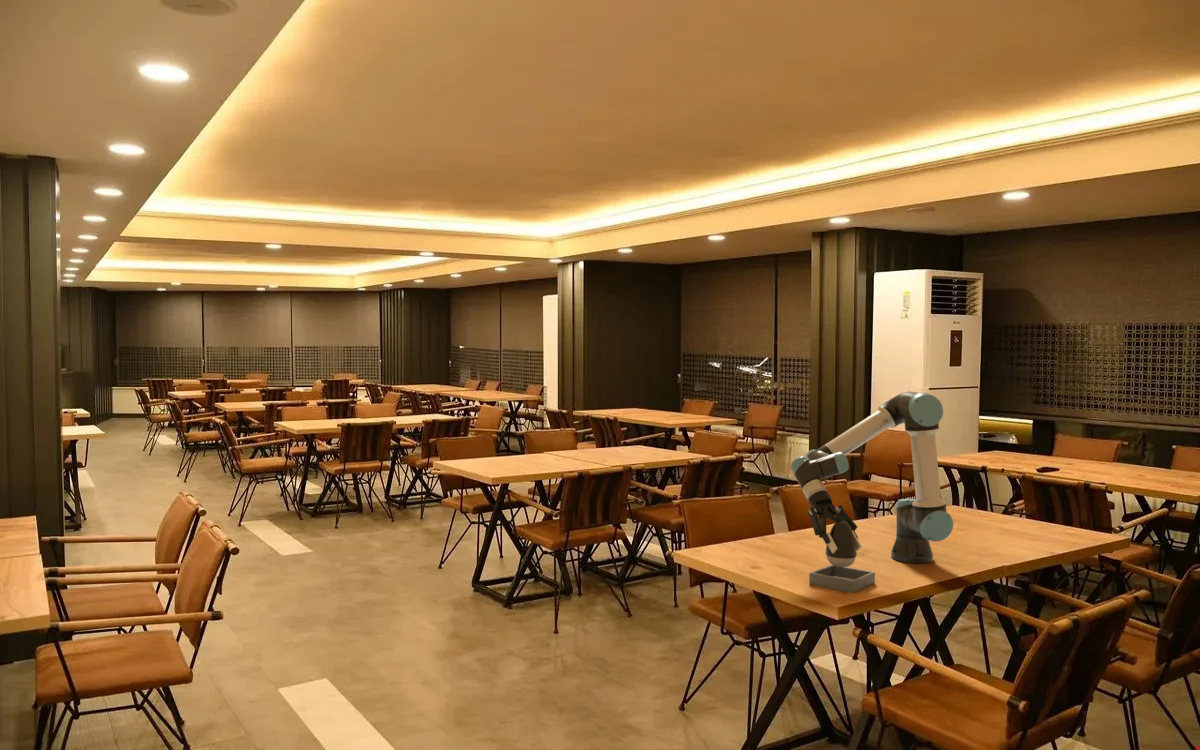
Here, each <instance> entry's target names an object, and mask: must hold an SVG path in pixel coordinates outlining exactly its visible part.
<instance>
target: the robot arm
mask: <svg viewBox="0 0 1200 750" xmlns="http://www.w3.org/2000/svg"><path fill="white" fill-rule="evenodd" d="M943 416H944V408H943V404H942V402H941V401H940V400H939V399H938V398H937V396H935V395H933V394H930V393H927V392H916V391H905V392H901V393H899V394H897V395H895V396H893V397H891V398H890V399H889V400H887V401H886V402H884V403H882V404H881V405H879V406H878V407H877V411H875V412H874V413H872V414H870V415H868V416H867V417H866V418H864V419H863V420H861V421H859V422H858V423H856V424H855V425H854V426H853V425H852V427H850V428H849V429H847V430H845V431H844V432H842V433H841V434H840V435H837V436H836V437H835V438H833V439H832V440H829V442H827V443H825V444H824V445H822V446H820V447H819V448H817V449H811V450H808V451H807V452H806V454H805V455H802V456H798V457H796V458H795V459H794V460H793V461H792V462H791V463H790V470H791V471H792V474H793V477H794V478H795V479H796V481H797V482H798V485H799V486H800V488H801V490H802V492H803V495H804V496H805V498H806V500H807V502H808V504H809V505H810V509H808V511H807V514H808V516H809V519H810V520H811V525H812V528H813V531H814V534H815V536H818V537H819V539H822V540H823V542H824V543H825V544H826V545H828V547H829V548H830V550H831V552H832V553H835V552H836V550H837V549H838V548H837V546H836V544H835V543H834V541H833V539H832V537H831V535H830V532H827V520H828V519H829V520H832V521H833V522H835V521H836V520H838V521H844V522H846V523H848V525H849V526H850V528H851V530H852V533H853V536H854V540H855V544H856V552H857V551H859V550H860V548H862V547H863V546H862V544H861V542H860V540H859V536H858V535H857V533H856V531H857V529H858V527H859V526H857V524H856V522H854V521H853V520H852V518H851V517H850V516H849V514H848V513H847V512H846V510H845V509H844V508H843V506H842V505H839V506H835V505H834V504H833V499H832V497H831V495H830V493H829V492H828V491H827V488H826V486H825V485H824V482H823V481H822V480H824V479H827V478H830V477H833V476H837V475H842V474H843V473H846V472H847V471H848V470H849V469H850V467H849V460H848V458H847V456H848V455H849V454H850V453H851V452H853V451H855V450H857V449H858V448H859V447H861V446H863V445H864V444H866V443H868V442H869V441H870V440H872V439H874V438H875V437H877V436H878V435H880V434H881V433H883V432H884V431H886V430H887V429H889V428H890V429H895V428H896V427H897V426H899V425H902V424H904V431H905V432H906V433H908V435H909V437H910V448H911V459H912V468H913V469H912V470H913V481H914V490H915V498H901V499H898V500H897V502H896V508H895V511H896V522H895V523H896V525H895V526H896V529H895V530H896V532H895V534H896V535H895V537H896V538H895V540H894V543H893V546H892V548H891V553H890V555H891V559H893V560H896V561H899V562H903V563H911V564H928V563H932V562H933V561H934V553H933V549H932V546H931V544H930V541H931V542H941V541H945V540H946V539H947V538H948V537H949V536H950V535H951V534H952V532H953V529H954V519H953V517H952V516H951V514H950V513H949V512H948V511H947V503H946V501H945V500H944V499H943V498H942V497H941V483H940V475H939V464H938V454H937V453H938V451H937V443H936V442H937V441H936V439H937V438H936V433H937V432H938V430H940V422H941V419H942V418H943Z"/></svg>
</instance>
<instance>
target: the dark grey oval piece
mask: <svg viewBox="0 0 1200 750" xmlns="http://www.w3.org/2000/svg"><path fill="white" fill-rule="evenodd" d="M834 522H835V523H833V525H832V526H831V529H830V530H829V533H830V535H831V537H832V539H833V541H834V543H835V544H836V546H837V548H838V549H837V550H836V552H835V553H832V552H831V550H830V548H829V547H828V545H827V544H826V545H825V551H824V552H825V553H824V554H825V555H826V559H827V560H828V562H829V563H830V565H831V564H832V565H834V566H837V567H848V568H849V567H850V566H851V565H853V564H854V562H855V560H856V558H857V551H856V544H855V540H854V536H853V533H852V530H851V528H850V526H849V525H848V523H846V522H844V521H838V520H836V521H834Z"/></svg>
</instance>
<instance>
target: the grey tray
mask: <svg viewBox="0 0 1200 750" xmlns="http://www.w3.org/2000/svg"><path fill="white" fill-rule="evenodd" d="M808 576H809V585H810V586H815V587H818V586H819V588H823V587H824V588H823V589H828V588H829V589H828V590H833V589H834V591H838V590H839V592H843V591H844V592H843V593H847V592H849V593H848V594H852V593H854V594H857V593H859V592H860V590H861V591H863V590H864V589H867V588H869V587H871V585H872V586H873V584H874V585H875V584H876V583H875V582H876V572H875V571H870V570H864V569H858V568H853V567H849V566H848V567H837V566H834V565H832V564H831V563H830V564H828V565H826V566H824V567H821V568H819V569H815V570H814V571H811V572H809V575H808ZM858 591H859V592H858Z"/></svg>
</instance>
